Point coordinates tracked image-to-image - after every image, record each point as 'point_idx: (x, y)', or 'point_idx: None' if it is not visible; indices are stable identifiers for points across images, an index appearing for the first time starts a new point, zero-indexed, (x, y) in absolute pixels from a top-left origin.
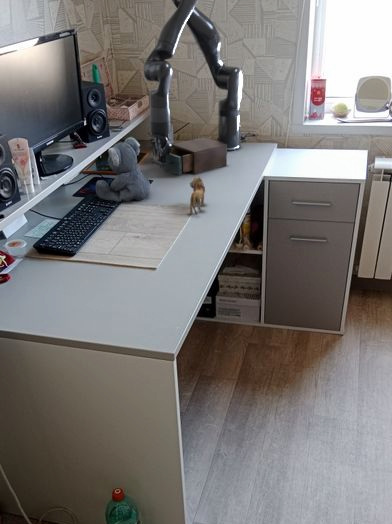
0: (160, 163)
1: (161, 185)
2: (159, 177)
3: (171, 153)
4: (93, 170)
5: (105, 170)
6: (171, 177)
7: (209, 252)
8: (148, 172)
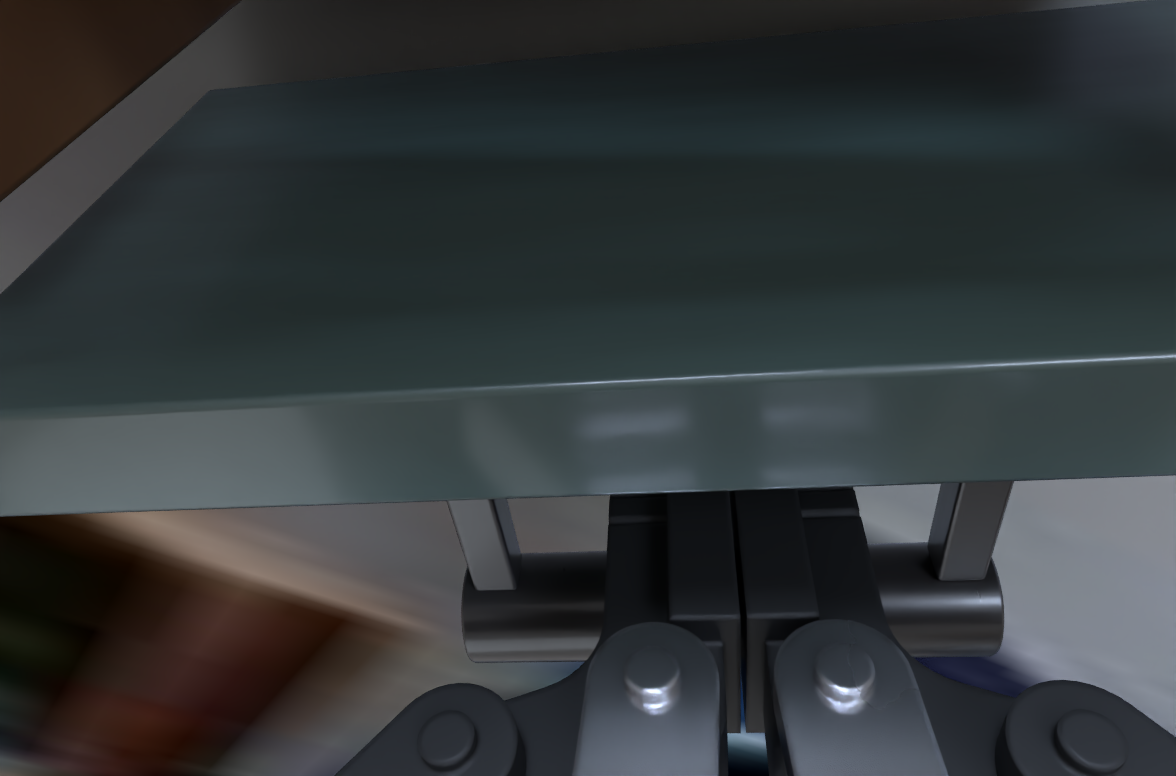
0: None
1: (1161, 543)
2: None
3: (805, 387)
4: (4, 770)
5: (34, 713)
6: None
7: None
8: None
